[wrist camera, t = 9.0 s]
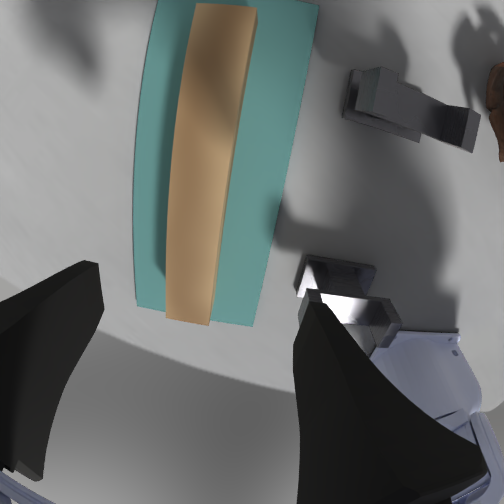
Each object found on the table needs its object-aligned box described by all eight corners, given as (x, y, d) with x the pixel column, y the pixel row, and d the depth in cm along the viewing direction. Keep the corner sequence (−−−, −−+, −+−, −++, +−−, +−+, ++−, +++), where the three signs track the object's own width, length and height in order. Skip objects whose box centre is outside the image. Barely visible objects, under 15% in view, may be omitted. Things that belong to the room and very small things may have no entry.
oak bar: (257, 22, 12) (256, 7, 10) (214, 299, 21) (208, 325, 18) (206, 17, 12) (196, 2, 10) (175, 292, 21) (165, 317, 18)
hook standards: (428, 99, 14) (482, 105, 9) (363, 300, 21) (384, 353, 16) (346, 68, 14) (382, 55, 9) (291, 290, 21) (299, 348, 16)
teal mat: (317, 7, 12) (319, 5, 11) (252, 323, 22) (252, 326, 22) (162, -8, 11) (160, -10, 11) (138, 302, 22) (137, 306, 21)
